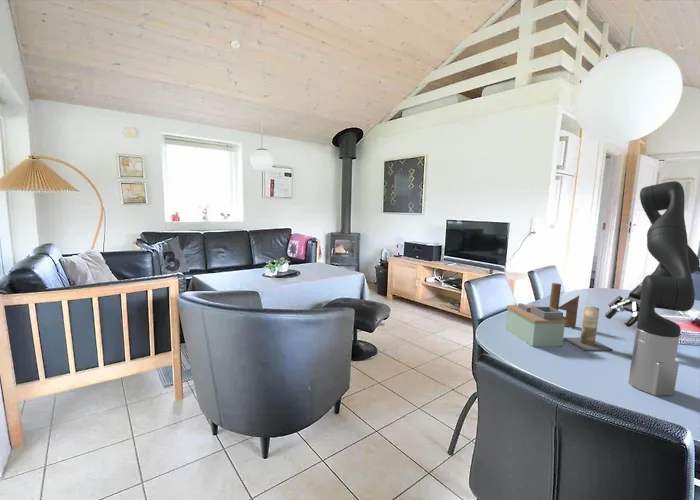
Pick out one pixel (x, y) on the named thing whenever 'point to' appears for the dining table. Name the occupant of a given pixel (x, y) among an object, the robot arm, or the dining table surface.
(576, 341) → the charcoal mat
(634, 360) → the robot arm
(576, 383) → the dining table surface
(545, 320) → the pale green box
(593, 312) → the tan ridged cylinder
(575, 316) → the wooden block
